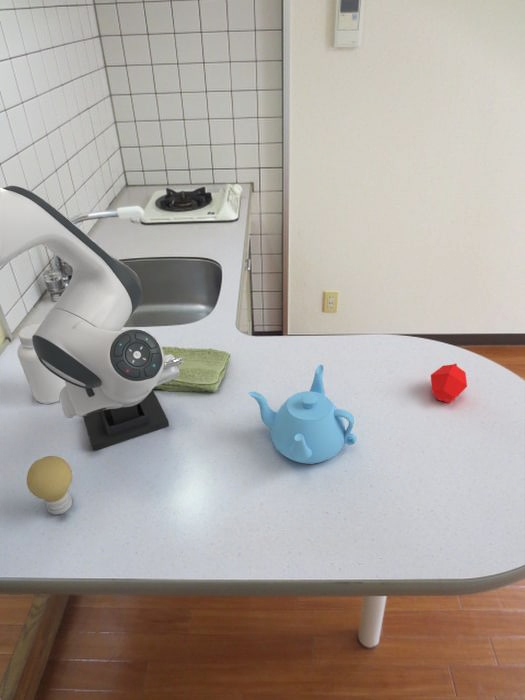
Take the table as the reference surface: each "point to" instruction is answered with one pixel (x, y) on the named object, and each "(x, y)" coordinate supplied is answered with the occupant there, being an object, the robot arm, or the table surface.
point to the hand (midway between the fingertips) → (118, 393)
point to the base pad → (125, 424)
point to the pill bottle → (37, 369)
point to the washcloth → (196, 369)
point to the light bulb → (51, 483)
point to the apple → (448, 382)
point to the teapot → (307, 424)
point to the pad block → (124, 414)
